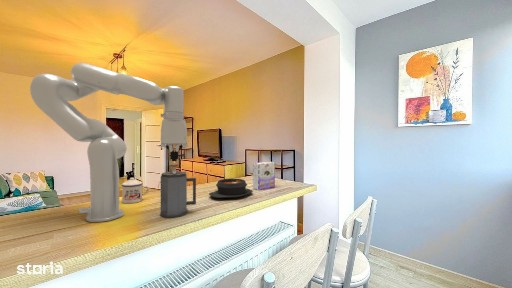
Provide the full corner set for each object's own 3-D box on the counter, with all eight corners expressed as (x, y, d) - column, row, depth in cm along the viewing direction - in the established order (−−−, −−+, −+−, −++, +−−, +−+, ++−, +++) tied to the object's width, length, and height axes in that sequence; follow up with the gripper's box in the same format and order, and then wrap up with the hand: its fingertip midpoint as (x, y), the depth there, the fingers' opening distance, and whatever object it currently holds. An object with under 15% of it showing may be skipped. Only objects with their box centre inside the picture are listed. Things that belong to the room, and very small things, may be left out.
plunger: (163, 212, 91) (163, 162, 90) (165, 207, 98) (165, 160, 97) (183, 211, 93) (183, 161, 92) (184, 205, 100) (184, 160, 99)
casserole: (241, 189, 140) (241, 176, 140) (259, 196, 125) (260, 180, 125) (203, 195, 125) (203, 180, 125) (219, 203, 110) (219, 186, 110)
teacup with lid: (122, 205, 106) (121, 180, 106) (121, 200, 114) (121, 177, 114) (150, 201, 113) (150, 178, 112) (147, 197, 120) (147, 175, 120)
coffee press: (158, 218, 89) (158, 175, 88) (162, 210, 99) (162, 171, 99) (195, 216, 93) (196, 174, 92) (195, 207, 103) (195, 170, 102)
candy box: (269, 186, 151) (269, 161, 151) (275, 187, 147) (275, 162, 146) (252, 188, 143) (252, 162, 142) (258, 190, 138) (258, 163, 137)
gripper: (153, 115, 89) (153, 162, 89) (192, 116, 93) (192, 161, 93) (156, 117, 96) (156, 160, 96) (192, 118, 100) (193, 159, 100)
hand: (174, 161), depth 95 cm, fingers closed
